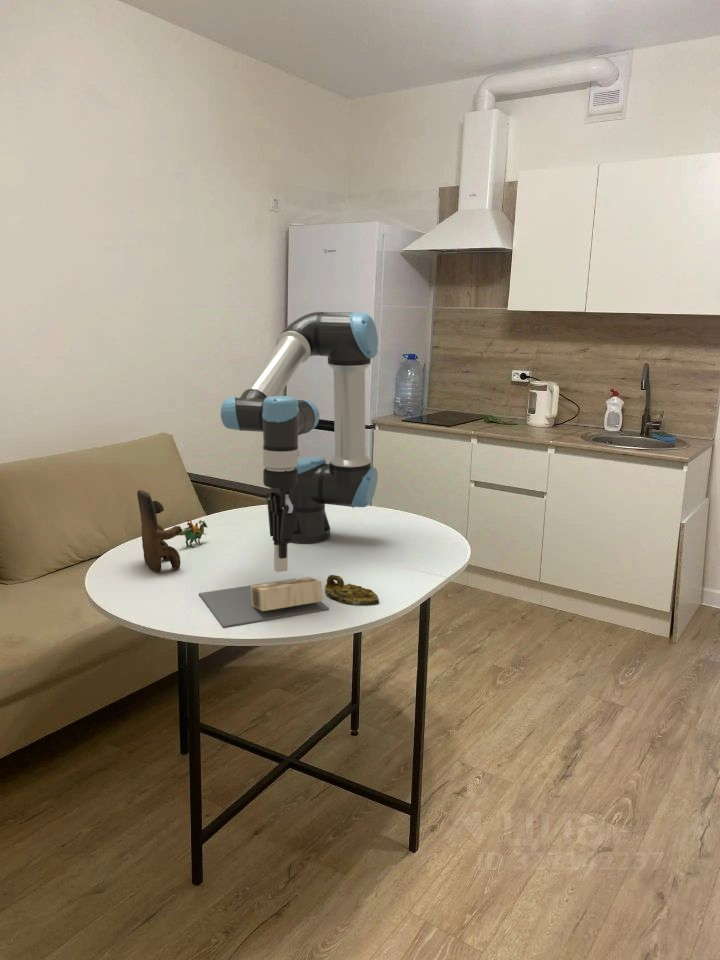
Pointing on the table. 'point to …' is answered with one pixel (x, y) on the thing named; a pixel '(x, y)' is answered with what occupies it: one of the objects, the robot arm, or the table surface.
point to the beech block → (286, 593)
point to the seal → (349, 592)
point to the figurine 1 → (156, 534)
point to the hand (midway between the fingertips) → (280, 570)
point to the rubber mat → (249, 607)
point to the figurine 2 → (193, 532)
